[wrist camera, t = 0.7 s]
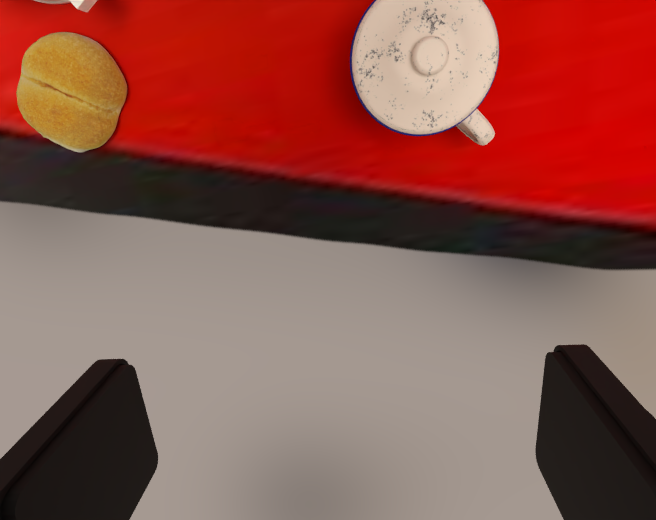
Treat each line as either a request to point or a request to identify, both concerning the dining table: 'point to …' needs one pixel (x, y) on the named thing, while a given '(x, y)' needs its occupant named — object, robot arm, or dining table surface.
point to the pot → (84, 3)
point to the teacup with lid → (426, 65)
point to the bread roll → (71, 90)
